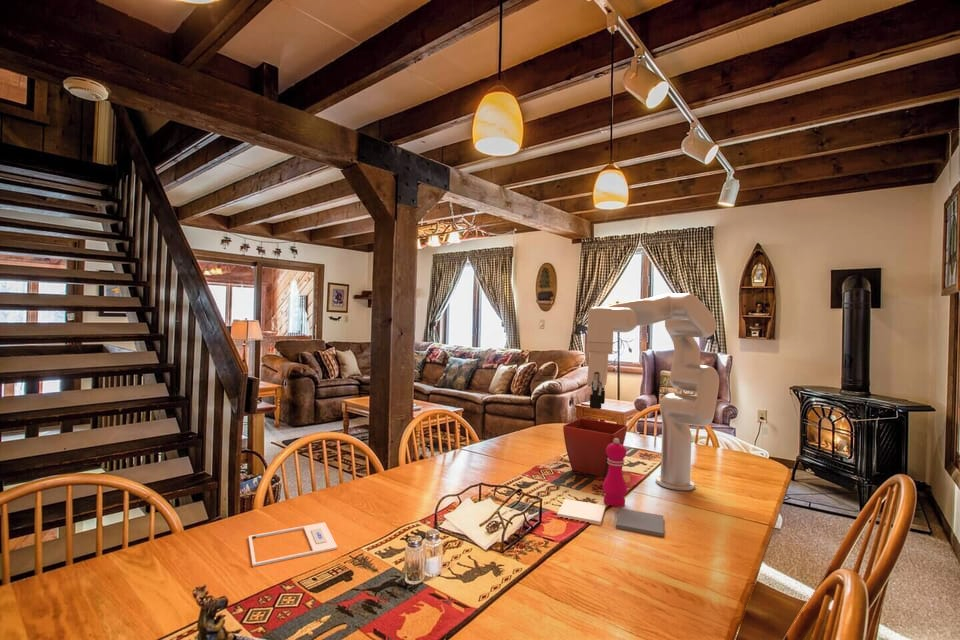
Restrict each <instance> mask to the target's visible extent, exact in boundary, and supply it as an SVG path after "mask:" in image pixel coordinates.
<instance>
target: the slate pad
mask: <svg viewBox="0 0 960 640" xmlns="http://www.w3.org/2000/svg"><path fill="white" fill-rule="evenodd" d="M618 508H619V509H618V514H617V517H616V522H615V529H620V530H624V531H629V532H634V533H635V532H636V533H640V534H646V535H651V536H658V537H661V538H664V534H665V533H664V515H661V514H657V513H651V512H645V511H639V510H633V509H627V508H623V507H618Z"/></svg>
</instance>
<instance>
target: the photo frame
mask: <svg viewBox="0 0 960 640" xmlns="http://www.w3.org/2000/svg"><path fill="white" fill-rule="evenodd" d="M300 530H304V533H305V535H306V539H307V541H308V544H309V545H310V547H311V550H310V551H305V552H301V553H295V554H290V555H285V556H281V557H275V558H271V559H266V560H262V561H256V555H255V554H256V553H255V550H254V541H253V538H257V539H258V538H262V537H268V536H274V535H281V534H284V533H289V532H290V533H291V532H296V531H300ZM247 537H248V544H249V550H250V559H251V566H252V567H258V566H263V565H269V564H272V563H277V562H282V561H287V560H291V559H297V558H301V557H306V556H307V557H308V556H311V555H315V554H321V553H325V552H326V553H327V552H329V551H335V550H338V545H337V543H336V542H335V540H334V537H333V535H332V533H331V531H330V530H329V528H328V526H327V524H326V522H325V521H324V522H318V523H314V524H308V525H302V526H296V527H290V528H286V529H278V530H275V531H274V530H273V531H270V532H262V533H258V534H251V535H248V536H247Z"/></svg>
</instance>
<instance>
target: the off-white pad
mask: <svg viewBox="0 0 960 640" xmlns="http://www.w3.org/2000/svg"><path fill="white" fill-rule="evenodd" d="M605 511H606V504H598V503H594V502H593V503H592V502H587V501H586V502H585V501H580V500H575V499H574V500H573V499H570V498H569V499H568V498H565V499H564V500H563V502H562V505H561V506H560V508H559V509H558V511H557V513H556V514H557V515H556V517H557V518H560V517H563V518H562V519H565V518H568V519H567V520H570V519H575V520H574V521H576V520H579V521H578V522H581V521H585V522H584V523H586V522H589V523H588V524H593V525H597V526H601V525H602V522H603V519H604V515H605Z"/></svg>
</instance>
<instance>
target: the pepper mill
mask: <svg viewBox="0 0 960 640" xmlns="http://www.w3.org/2000/svg"><path fill="white" fill-rule="evenodd" d="M606 454H607V456H608V457H609V458H608V459H607V460H608V461H607V463H608V464H609V471H608V475H607V476H606V477H605V479H604V480H603V484H602V491H603V493H604V496H603V503H604V502H605V503H606V504H605V503H604V504H605V505H607V504H609V505H611V506H610V507H615V508H623V507H624V506H625V505H626V498H625V496H626V495H627V493H628V488H627V484H626V481H625V478H624V476H623V467H624V465H625V460H624V459H625V458H626V456H627V448H626V447H625V446H624V444H623V445H622V444H619V439H618V438H615V439H614V443H611V444H609V445H608V446H607V448H606ZM609 505H608V506H609Z"/></svg>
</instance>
